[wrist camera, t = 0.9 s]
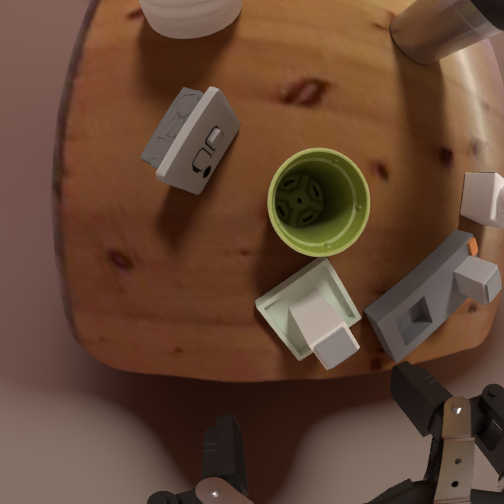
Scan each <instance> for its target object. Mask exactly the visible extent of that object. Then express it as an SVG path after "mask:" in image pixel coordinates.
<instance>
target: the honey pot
mask: <svg viewBox="0 0 504 504" xmlns="http://www.w3.org/2000/svg"><path fill="white" fill-rule="evenodd" d="M242 2H243V0H139V3H140V6H141V7H142V10H143V12H144V15H145V17H146V19H147V21H148V23H149V24H150V26H151V27H152V29H153V30H154V31H156V32H158V33H159V34H161V35H163V36H167V37H170V38H177V39H190V38H199V37H203V36H207V35H211V34H213V33H215V32H218V31H220V30H222V29H224V28H225V27H227V26H228V25H230V24H231V23H232V22H233V21H234V20H235V19H236V18H237V17H238V15H239V13H240V11H241V8H242Z"/></svg>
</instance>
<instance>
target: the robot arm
mask: <svg viewBox="0 0 504 504" xmlns="http://www.w3.org/2000/svg"><path fill="white" fill-rule="evenodd" d="M503 31H504V0H416V1H415V2H414V3H413V4H411V5H410V6H409V7H408V8H407V9H405V10H404V11H403V12H402V13H401V14H399V15H398V16H397V17H396V18H395V19H394V20H393V21H392V22H391V23H390V32H391V35H392V37H393V39H394V41H395V43H396V44H397V46H398V47H399V48H400V49H401V50H402V51H403V52H404V53H405V54H406V55H407V56H408V57H409V58H411V59H412V60H414V61H415V62H417V63H419V64H423V65H430V64H432V63H434V62H436V61H438V60H440V59H442V58H444V57H446V56H448V55H450V54H452V53H455V52H457V51H459V50H461V49H463V48H465V47H468V46H470V45H472V44H474V43H476V42H479V41H481V40H483V39H486V38H488V37H490V36H493V35H495V34H498V33H500V32H503ZM390 392H391V395H392V397H393V399H394V400H395V401H396V402H397V404H398V405H399V406H400V408H401V409H402V410H403V411H404V413H405V414H406V415H407V417H408V418H409V419H410V421H411V422H412V423H413V424H414V426H415V427H416V428H417V430H418V431H419V432H420V434H421V435H422V436H423V437H425V436H427V435H429V434H430V433H431V434H432V436H433V437H432V441H431V448H430V454H429V459H428V465H427V469H426V472H425V475H424V478H423V480H422V481H416V482H412V481H411V480H410V479H407V480H405V481H403V482H401V483H399V484H397V485H395V486H393V487H391V488H389V489H387V490H386V491H385V492H383V493H382V494H380V495H379V496H378V497H376V498H375V499H373V500H372V501H370V502H368V503H365V504H504V388H503V387H502V386H500V385H498V384H490V385H488V386H486V387H485V388H484V389H483V392H482V394H481V395H479V396H476V397H473V398H470V399H466V398H465V397H462V396H452V395H451V394H450V393H449V392H448V391H447V390H446V389H445V388H444V387H443V386H442V385H441V384H440V383H439V382H438V381H436V379H435V378H434V377H433V376H431V374H430V373H429V372H428V371H427V370H425V369H423V368H421V367H418V366H416V367H413V366H412V365H411V364H410V363H409V362H408V361H404V362H402V363H400V364H398V365H395V366H393V368H392V375H391V384H390ZM493 420H494V421H495V423H496V424H497V425H498V426H499V427H500V428H501V429H502V430H501V429H500V428H499V427H498V426H497V425H496V424H495V423H494V421H493ZM475 443H476V445H477V446H478V447H479V449H480V450H481V451H482V453H483V454H484V455H485V456H486V458H487V459H488V460H489V462H490V463H491V465H492V466H493V467H494V469H495V470H496V472H497V473H498V474H499V478H498V490H499V491H500V492H493V491H484V490H477V489H471V486H472V478H473V467H474V451H475ZM203 444H204V445H203V465H202V479H201V481H200V483H198V485H197V486H196V487H195V488H194V489H192V490H189V491H186V492H183V493H179V494H176V495H174V494H173V493H171V492H168V491H159V492H156V493H154V494H152V495H151V496H150V497H149V499H148V501H147V504H253V502H251V501H250V500H248V499H247V498H246V497H245V496H247V495H249V493H248V484H247V476H246V466H245V457H244V447H243V439H242V435H241V432H240V429H239V427H238V424H237V422H236V419H235V417H234V415H233V413H230V414H223V415H218V416H217V426H212V427H208V429H207V430H206V432H205V434H204V441H203Z"/></svg>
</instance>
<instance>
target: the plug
mask: <svg viewBox="0 0 504 504" xmlns="http://www.w3.org/2000/svg"><path fill="white" fill-rule="evenodd" d="M289 309H290V311H291V313H292V315H293V317H294V319H295V321H296V323H297V324H298V326H299V328H300V330H301V332H302V334H303V336H304V338H305V340H306V342H307V344H308V345H309V347H310V348H311V349H312V351H313V352H314V354H315V355H316V356H317V358H318V359H319V360H320V362H321V363H322V364H323V366H324V367H325V368H326V370H328V369H332V368H333V367H335V366H336V365H338V364H339V363H341V362H342V361H344V360H345V359H347V358H348V357H349V356H351V355H352V354H354V353H355V352H356V351H358V350H357V349H359V348H360V346H359V345H358V343H357V341H356V340H355V338H354V336H353V334H352V333H351V331H350V329H349V328H348V326H347V324H346V323H345V321H344V320H343V319H342V318H341V316H340V315H339V314H338V313H337V312H336V311H335V310H334V308H333V307H332V306H331V305H330V304H329V303H328V302H327V301H326V299H325V298H324V297H323V296H322V295H321V294H320V293H319V292H318V290H317V289H315V290H313V291H312V292H311V293H309V294H308V295H306V296H305V297H303V298H302V299H301V300H299V301H298V302H296V303H295V304H293V305H292V306H290V307H289Z"/></svg>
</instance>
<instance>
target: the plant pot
mask: <svg viewBox="0 0 504 504" xmlns="http://www.w3.org/2000/svg"><path fill="white" fill-rule="evenodd" d="M289 180H294V182H292V183H290V184H288V185H287V186H284V184H285V182H287V181H289ZM312 186H315V188H316V190H317V191H318V193H319V196H318V197H317V196H316V194H315V191H314V190H313V188H312ZM297 199H301V203H298V201H297ZM267 205H268V213H269V217H270V221H271V223H272V225H273V228H274V229H275V231H276V233H277V234H278V236H279V237H280V238H281V239H282V240H283V241H284V242H285V243H286V244H287V245H288V246H289V247H291V248H292V249H294V250H295V251H297V252H299V253H302V254H305V255H308V256H313V257H326V256H331V255H334V254H337V253H340V252H342V251H344V250H345V249H347V248H348V247H349V246H351V245H352V244H353V243H354V242H355V241H356V240H357V239H358V237H359V236H360V234H361V233H362V231H363V230H364V228H365V225H366V223H367V220H368V216H369V212H370V194H369V189H368V186H367V183H366V181H365V178H364V176H363V174H362V173H361V171H360V170H359V168H358V167H357V166H356V165H355V164H354V163H353V162H352V161H351V160H350V159H349V158H348V157H346V156H344V155H343V154H341V153H339V152H337V151H334V150H331V149H326V148H311V149H307V150H304V151H301V152H299V153H297V154H295V155H293V156H292V157H290V158H289V159H288V160H287V161H285V162H284V163H283V164H282V165H281V167H280V168H279V169H278V170H277V172H276V173H275V175H274V177H273V179H272V181H271V184H270V187H269V191H268V200H267ZM279 205H280V206H281V209H282V211H283V212H284V214H285V216H283V215H282V214H281V213H280V211H279V209H278V206H279ZM311 215H313V216H312V218H311V219H310V220H308V221H303V219H305V218H307V217H309V216H311Z"/></svg>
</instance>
